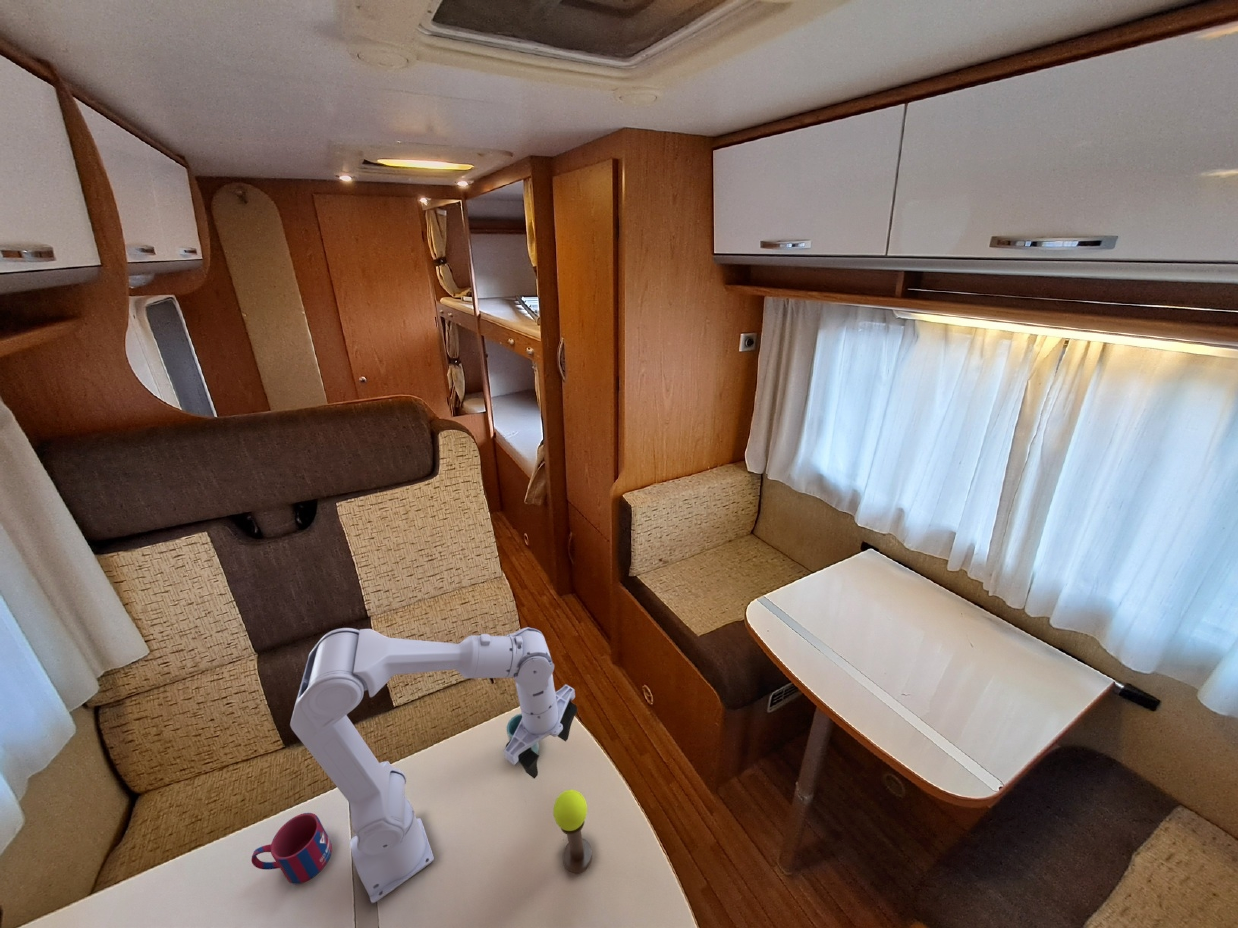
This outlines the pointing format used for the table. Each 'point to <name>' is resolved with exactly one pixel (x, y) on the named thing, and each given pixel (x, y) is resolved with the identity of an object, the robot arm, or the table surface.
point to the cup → (297, 849)
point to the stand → (576, 851)
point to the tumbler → (513, 726)
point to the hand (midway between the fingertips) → (547, 754)
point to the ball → (570, 810)
